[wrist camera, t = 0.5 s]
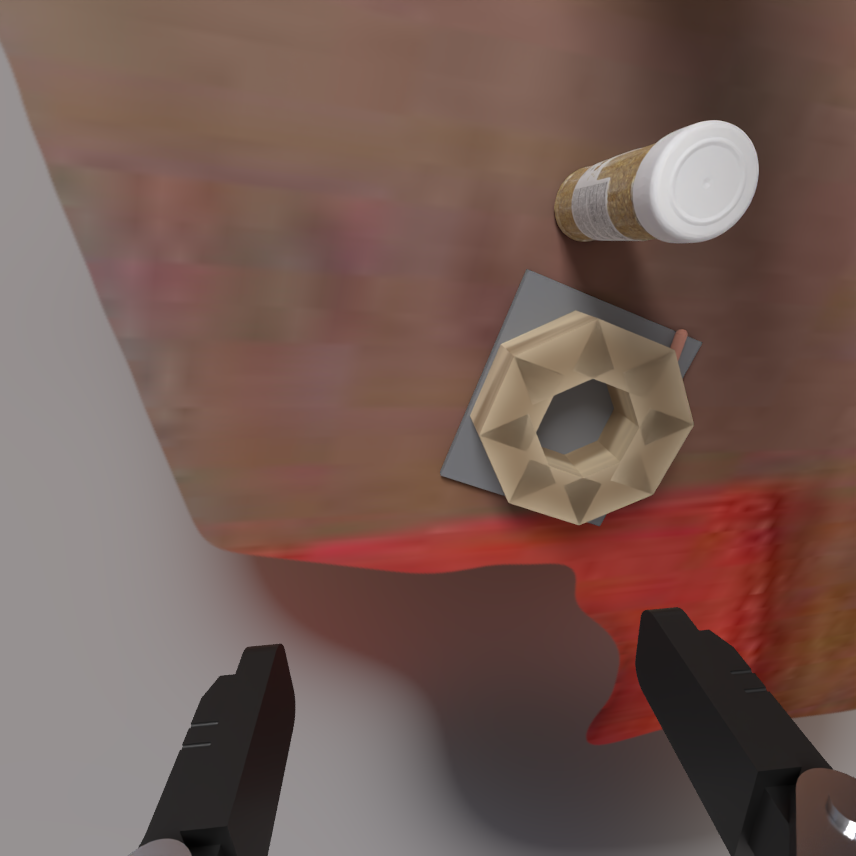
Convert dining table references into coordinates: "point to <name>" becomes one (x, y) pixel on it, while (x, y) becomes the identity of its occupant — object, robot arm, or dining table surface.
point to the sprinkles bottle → (664, 188)
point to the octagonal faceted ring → (622, 435)
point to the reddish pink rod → (679, 342)
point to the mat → (569, 410)
